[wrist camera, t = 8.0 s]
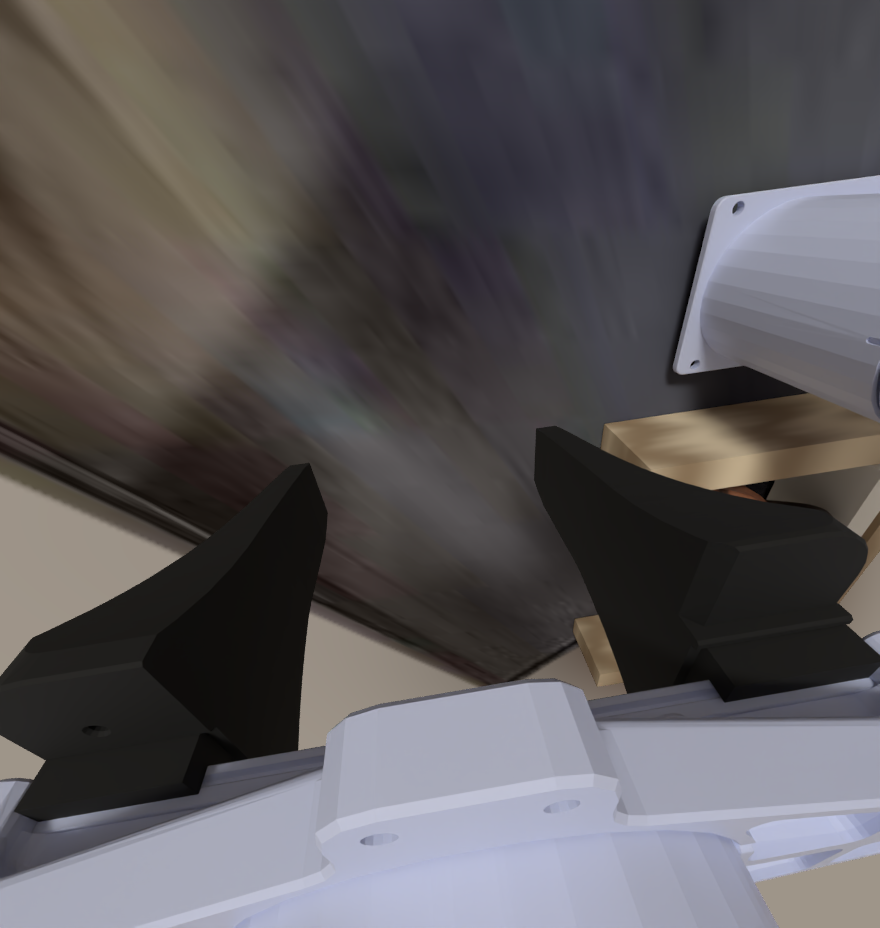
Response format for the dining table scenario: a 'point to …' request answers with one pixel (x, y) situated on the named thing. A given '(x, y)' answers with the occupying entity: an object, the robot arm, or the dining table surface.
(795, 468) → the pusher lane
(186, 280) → the dining table surface
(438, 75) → the dining table surface
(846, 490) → the pusher plate
